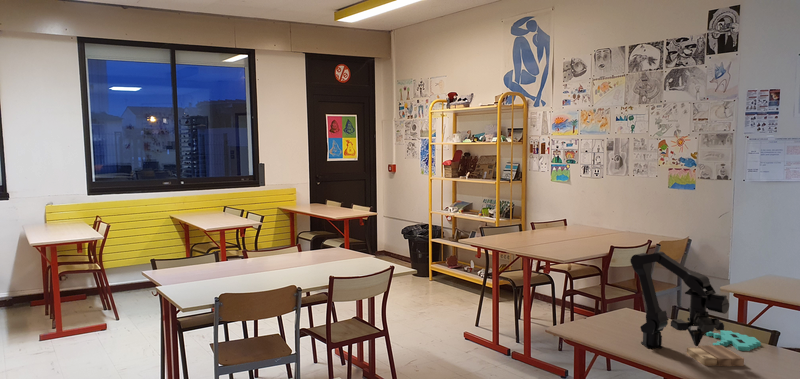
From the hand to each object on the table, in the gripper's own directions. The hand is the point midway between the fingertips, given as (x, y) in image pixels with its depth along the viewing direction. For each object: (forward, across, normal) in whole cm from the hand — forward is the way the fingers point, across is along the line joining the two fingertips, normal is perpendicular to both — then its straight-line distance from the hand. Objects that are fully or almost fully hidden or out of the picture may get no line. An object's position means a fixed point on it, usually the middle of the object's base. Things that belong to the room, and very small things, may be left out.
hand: (696, 345), depth 218 cm
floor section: (+6, +10, 0) cm, 11 cm away
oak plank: (+6, +2, 0) cm, 6 cm away
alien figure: (+6, +27, +19) cm, 33 cm away
